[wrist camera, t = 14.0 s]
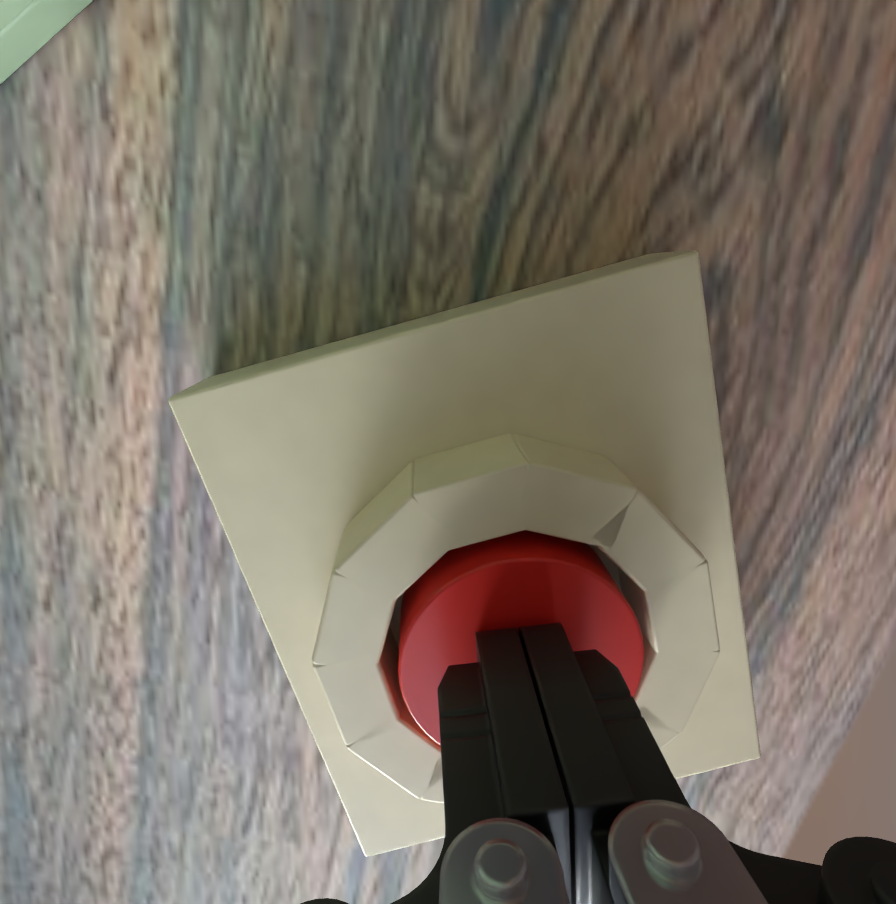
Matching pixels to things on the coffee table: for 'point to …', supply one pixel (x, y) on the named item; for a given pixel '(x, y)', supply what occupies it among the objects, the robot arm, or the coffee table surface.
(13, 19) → the cupboard
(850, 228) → the coffee table surface
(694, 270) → the switch block
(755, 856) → the robot arm
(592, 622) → the button
